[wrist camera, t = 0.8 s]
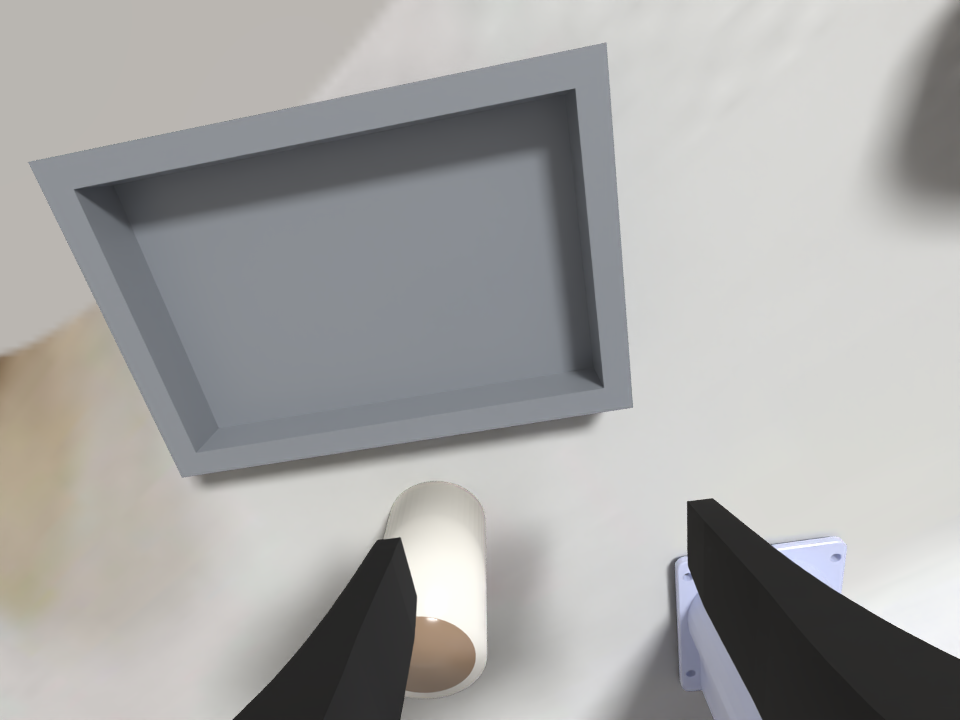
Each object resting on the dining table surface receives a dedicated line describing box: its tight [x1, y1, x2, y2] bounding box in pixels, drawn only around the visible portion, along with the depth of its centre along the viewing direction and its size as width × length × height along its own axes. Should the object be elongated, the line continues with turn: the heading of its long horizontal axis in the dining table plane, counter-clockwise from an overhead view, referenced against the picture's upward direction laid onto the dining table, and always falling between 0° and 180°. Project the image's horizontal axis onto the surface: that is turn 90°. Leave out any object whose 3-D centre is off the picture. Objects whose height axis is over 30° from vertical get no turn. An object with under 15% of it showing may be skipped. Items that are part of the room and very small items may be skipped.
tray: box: [29, 43, 633, 478], centre depth 19 cm, size 12×18×2 cm, turn 100°
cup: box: [384, 481, 487, 699], centre depth 21 cm, size 5×5×7 cm
